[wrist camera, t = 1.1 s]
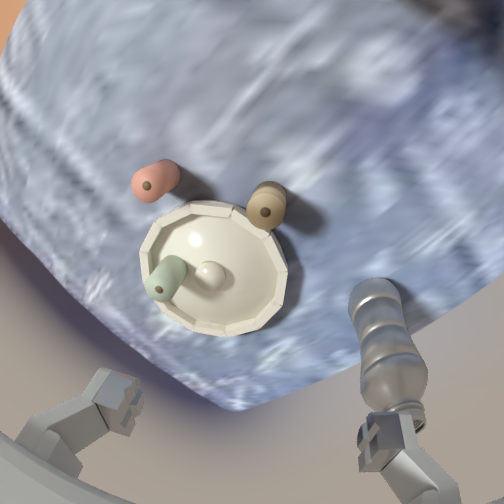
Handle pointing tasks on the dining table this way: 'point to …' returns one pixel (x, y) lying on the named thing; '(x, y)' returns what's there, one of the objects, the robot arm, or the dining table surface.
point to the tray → (218, 267)
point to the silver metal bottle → (387, 352)
